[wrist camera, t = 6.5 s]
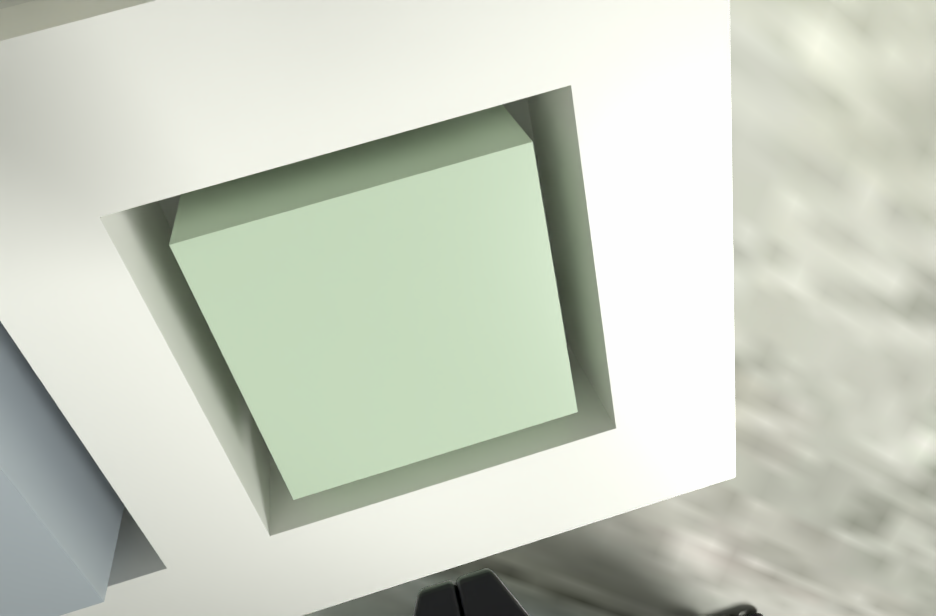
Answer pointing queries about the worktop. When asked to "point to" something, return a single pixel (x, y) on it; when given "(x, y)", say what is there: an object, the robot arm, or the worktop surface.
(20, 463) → the slate key
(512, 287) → the sage key
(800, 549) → the worktop surface
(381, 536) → the keypad
